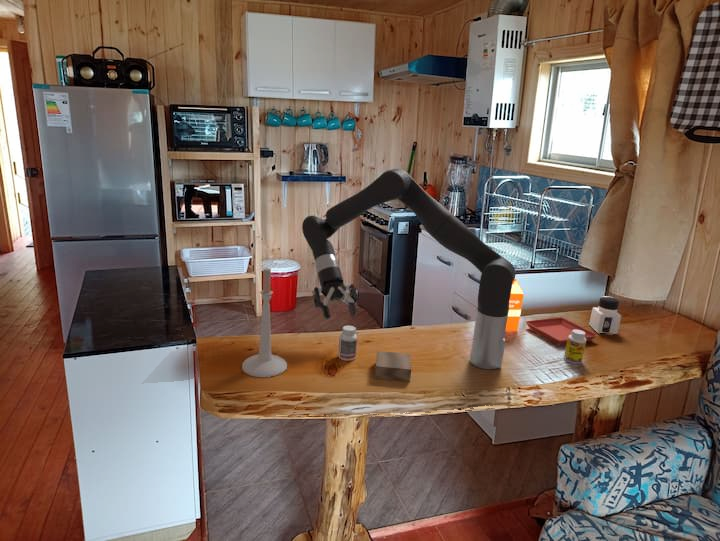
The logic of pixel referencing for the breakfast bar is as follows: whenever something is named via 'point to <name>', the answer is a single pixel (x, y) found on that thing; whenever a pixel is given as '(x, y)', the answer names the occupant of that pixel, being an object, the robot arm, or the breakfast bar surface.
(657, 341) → the breakfast bar surface
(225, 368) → the breakfast bar surface
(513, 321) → the orange juice
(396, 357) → the walnut base
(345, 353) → the pill bottle
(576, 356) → the supplement bottle
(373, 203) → the robot arm
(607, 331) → the container
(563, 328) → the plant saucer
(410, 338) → the breakfast bar surface
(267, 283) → the grey pole stand
